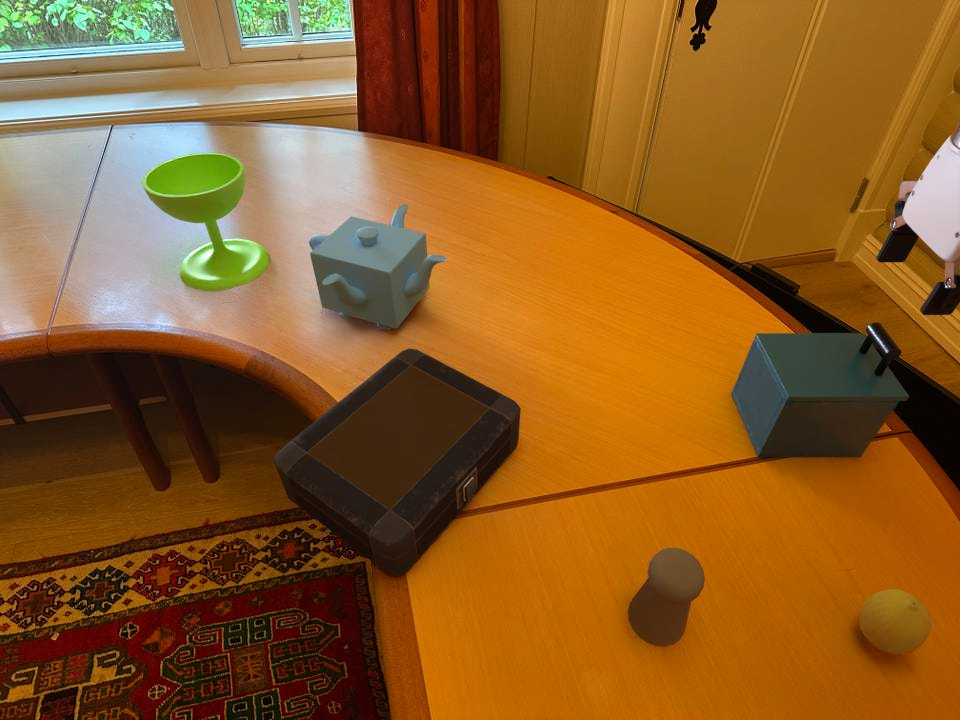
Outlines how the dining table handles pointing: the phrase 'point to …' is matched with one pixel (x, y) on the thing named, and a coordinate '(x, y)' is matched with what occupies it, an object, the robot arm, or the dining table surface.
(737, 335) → the dining table surface
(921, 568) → the dining table surface
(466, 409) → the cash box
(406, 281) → the teakettle
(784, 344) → the box lid
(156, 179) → the wineglass
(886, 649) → the lemon
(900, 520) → the dining table surface
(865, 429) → the teal box
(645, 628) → the cork
